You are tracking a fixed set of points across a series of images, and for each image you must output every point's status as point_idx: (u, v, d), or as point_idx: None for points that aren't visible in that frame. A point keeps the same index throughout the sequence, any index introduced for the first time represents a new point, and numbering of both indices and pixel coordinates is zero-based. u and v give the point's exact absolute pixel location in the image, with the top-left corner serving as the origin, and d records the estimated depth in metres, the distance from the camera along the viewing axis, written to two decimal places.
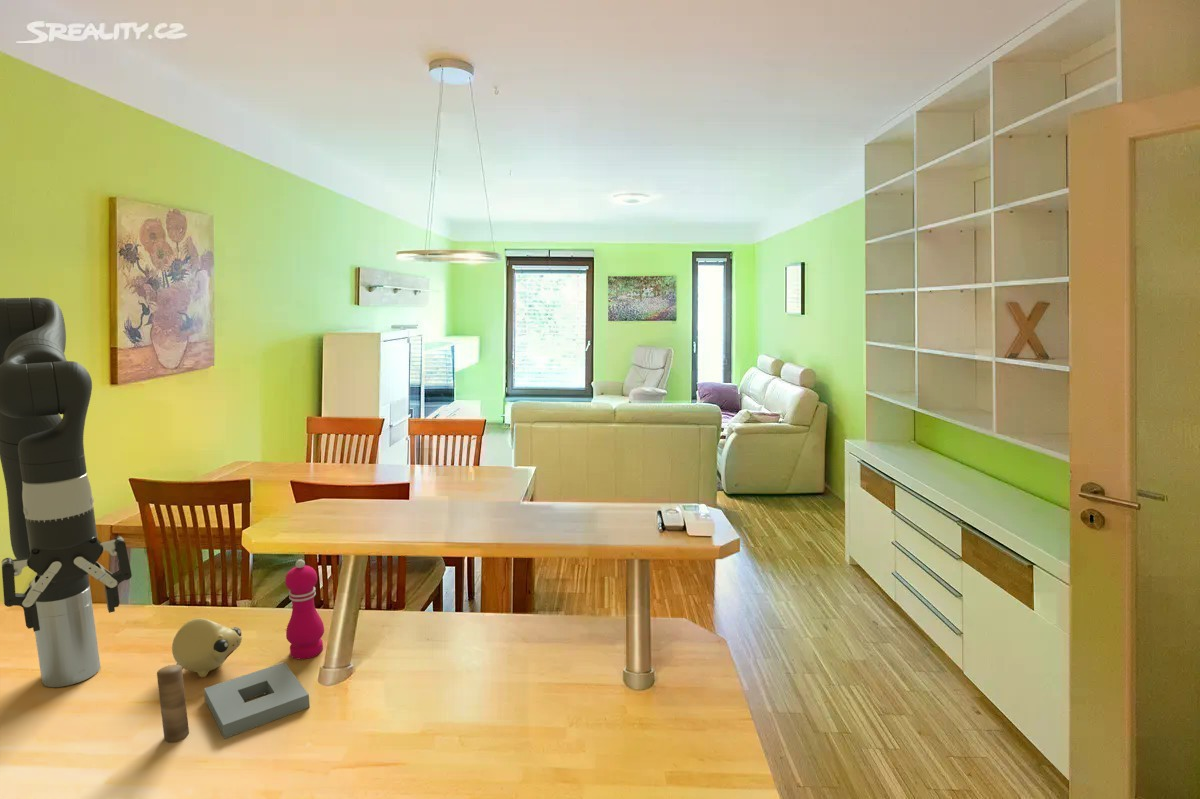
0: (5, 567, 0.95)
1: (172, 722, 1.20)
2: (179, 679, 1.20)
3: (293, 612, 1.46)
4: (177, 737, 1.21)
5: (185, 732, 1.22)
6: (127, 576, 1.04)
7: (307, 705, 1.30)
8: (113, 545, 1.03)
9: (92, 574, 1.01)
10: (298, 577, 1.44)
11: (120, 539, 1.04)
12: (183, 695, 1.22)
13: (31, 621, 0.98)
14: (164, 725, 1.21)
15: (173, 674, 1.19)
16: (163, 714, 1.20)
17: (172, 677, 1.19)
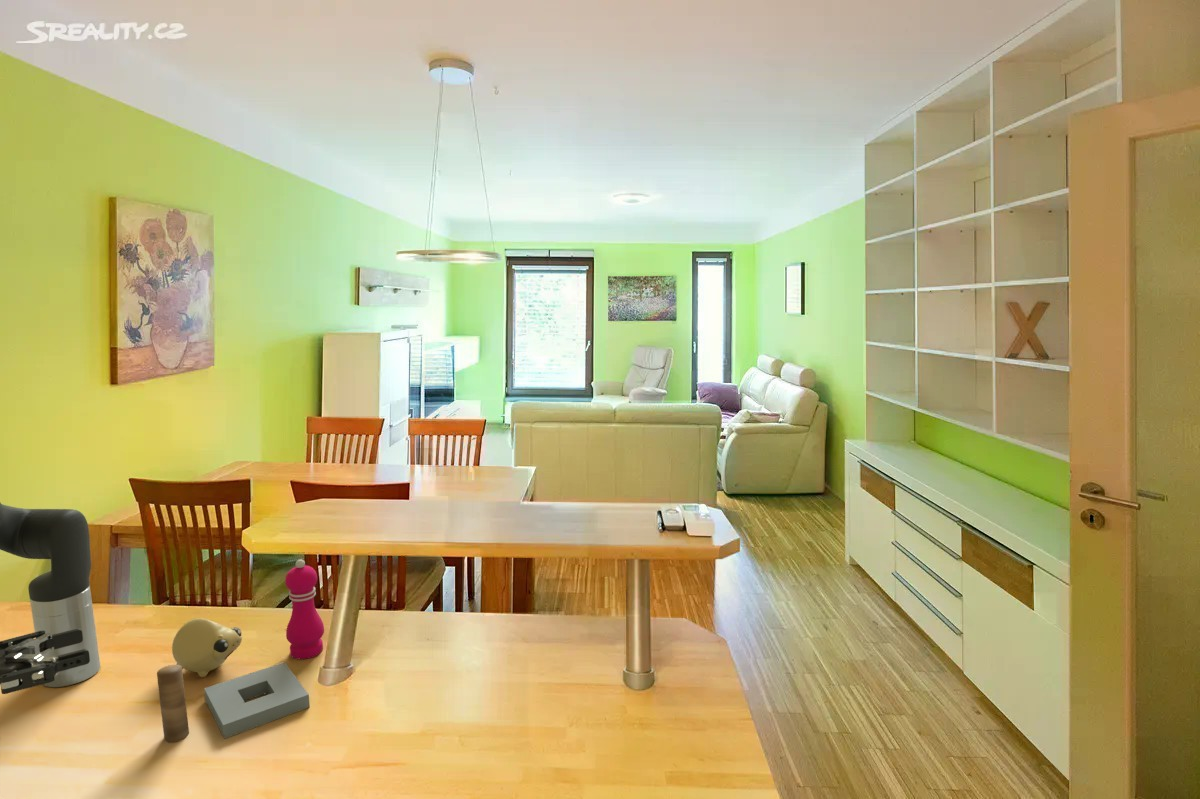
0: None
1: (172, 722, 1.20)
2: (179, 679, 1.20)
3: (293, 612, 1.46)
4: (177, 737, 1.21)
5: (185, 732, 1.22)
6: None
7: (307, 705, 1.30)
8: None
9: None
10: (298, 577, 1.44)
11: (1, 688, 1.01)
12: (183, 695, 1.22)
13: None
14: (164, 725, 1.21)
15: (173, 674, 1.19)
16: (163, 714, 1.20)
17: (172, 677, 1.19)
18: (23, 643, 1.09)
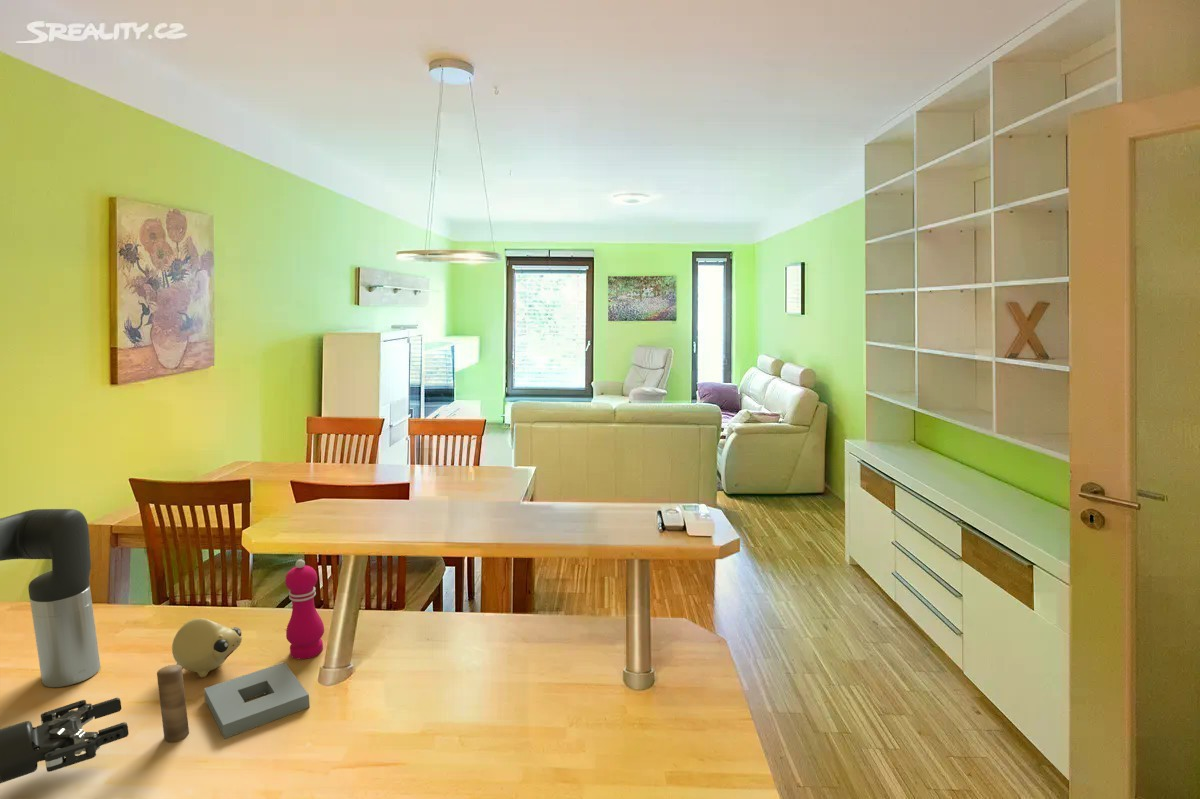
0: None
1: (172, 722, 1.20)
2: (179, 679, 1.20)
3: (293, 612, 1.46)
4: (177, 737, 1.21)
5: (185, 732, 1.22)
6: None
7: (307, 705, 1.30)
8: None
9: None
10: (298, 577, 1.44)
11: (46, 766, 1.06)
12: (183, 695, 1.22)
13: None
14: (164, 725, 1.21)
15: (173, 674, 1.19)
16: (163, 714, 1.20)
17: (172, 677, 1.19)
18: (66, 716, 1.14)
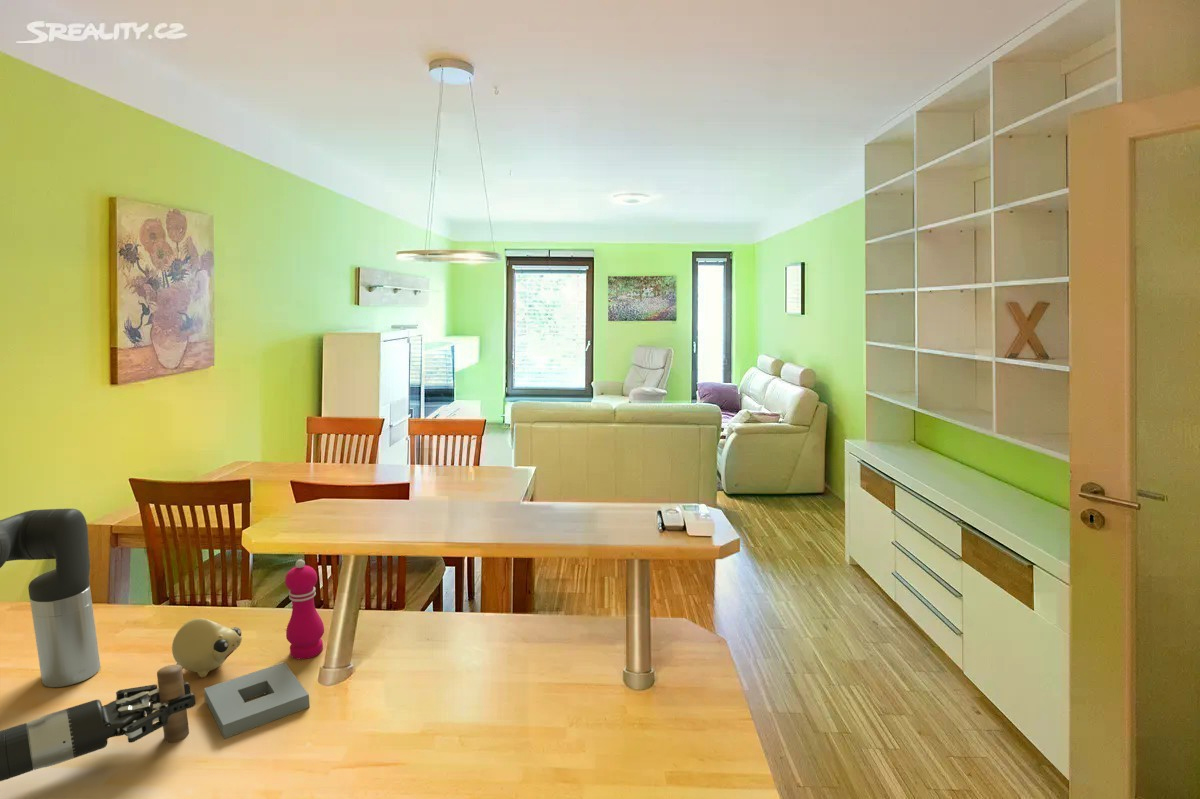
0: None
1: (172, 721, 1.20)
2: (179, 679, 1.20)
3: (293, 612, 1.46)
4: (177, 737, 1.21)
5: (185, 732, 1.22)
6: None
7: (307, 705, 1.30)
8: None
9: None
10: (298, 577, 1.44)
11: (129, 738, 1.12)
12: (183, 695, 1.22)
13: None
14: (164, 725, 1.21)
15: (173, 674, 1.19)
16: None
17: (173, 677, 1.19)
18: (134, 697, 1.19)
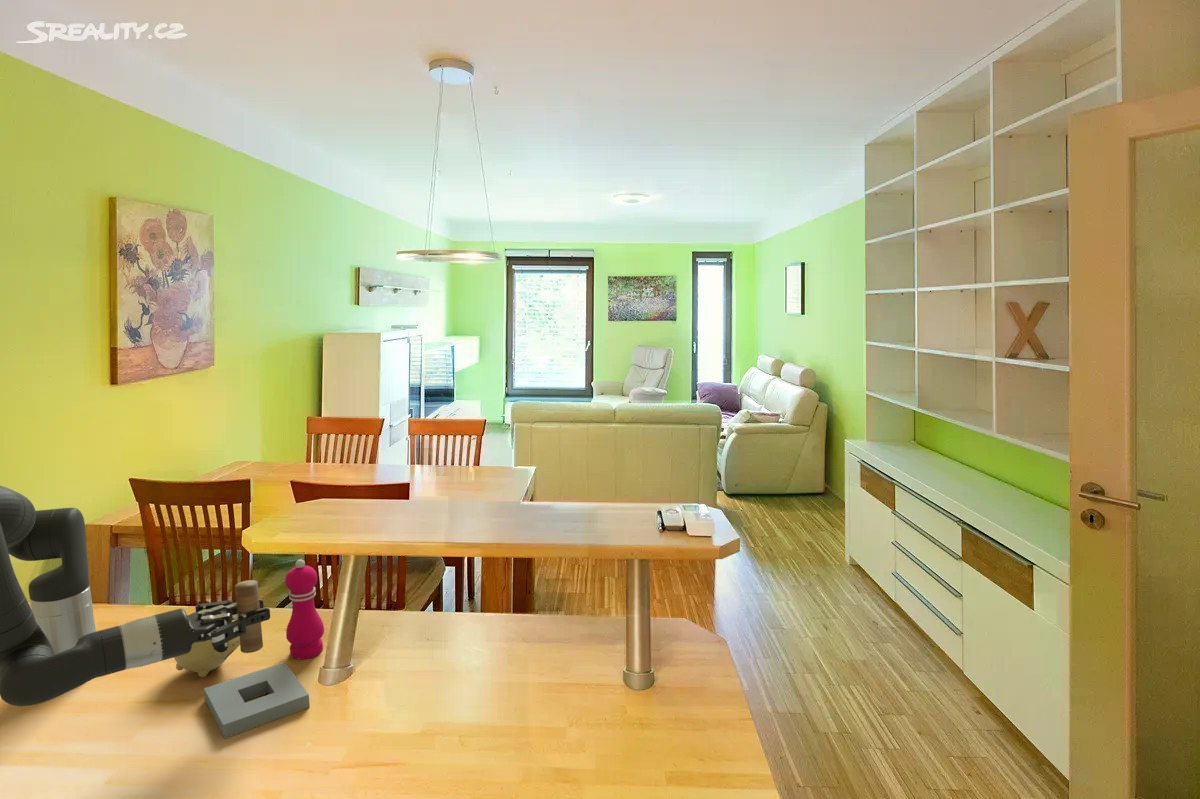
0: None
1: (249, 633, 1.27)
2: (255, 593, 1.27)
3: (293, 612, 1.46)
4: (253, 648, 1.28)
5: (260, 644, 1.29)
6: None
7: (307, 705, 1.30)
8: None
9: None
10: (298, 577, 1.44)
11: (213, 642, 1.19)
12: None
13: None
14: (241, 636, 1.28)
15: (250, 587, 1.26)
16: None
17: (250, 590, 1.26)
18: (214, 609, 1.26)
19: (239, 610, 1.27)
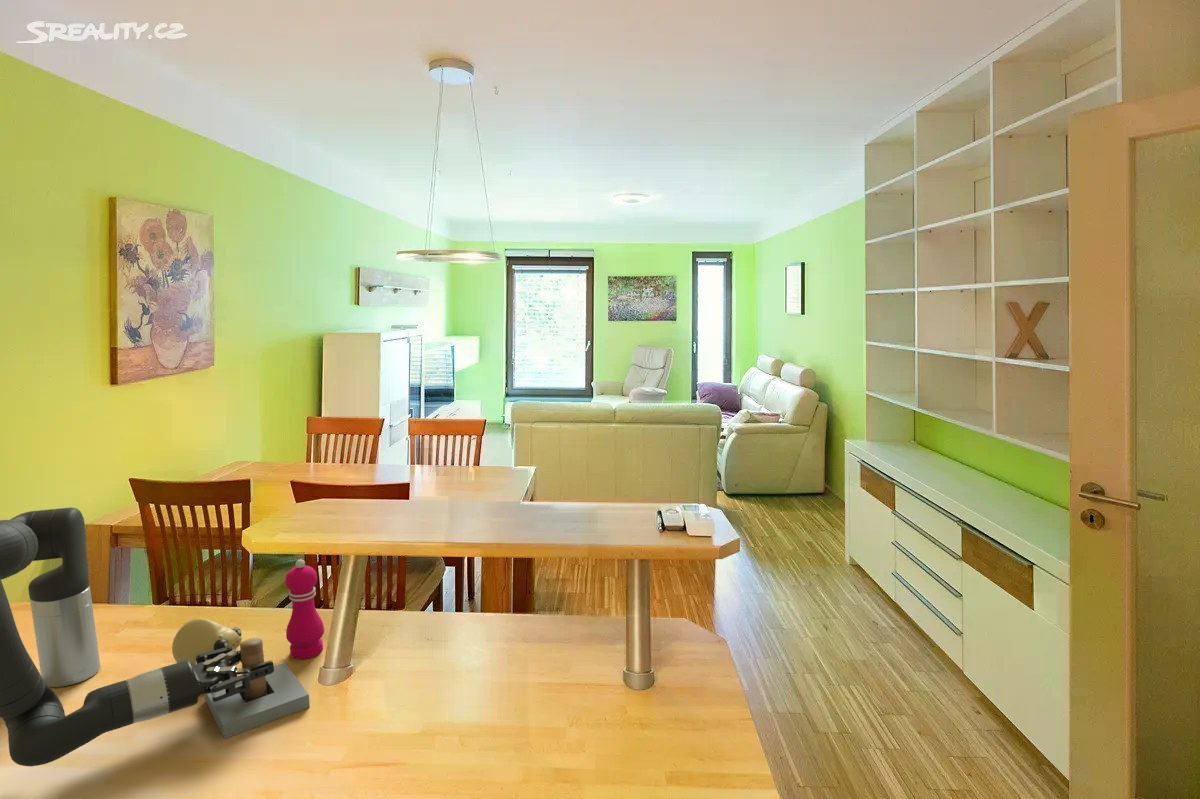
0: None
1: (254, 691, 1.29)
2: (260, 651, 1.29)
3: (293, 612, 1.46)
4: None
5: None
6: None
7: (307, 705, 1.30)
8: None
9: None
10: (298, 577, 1.44)
11: (213, 697, 1.20)
12: None
13: None
14: (246, 694, 1.30)
15: (255, 646, 1.28)
16: None
17: (255, 649, 1.28)
18: (217, 658, 1.28)
19: None
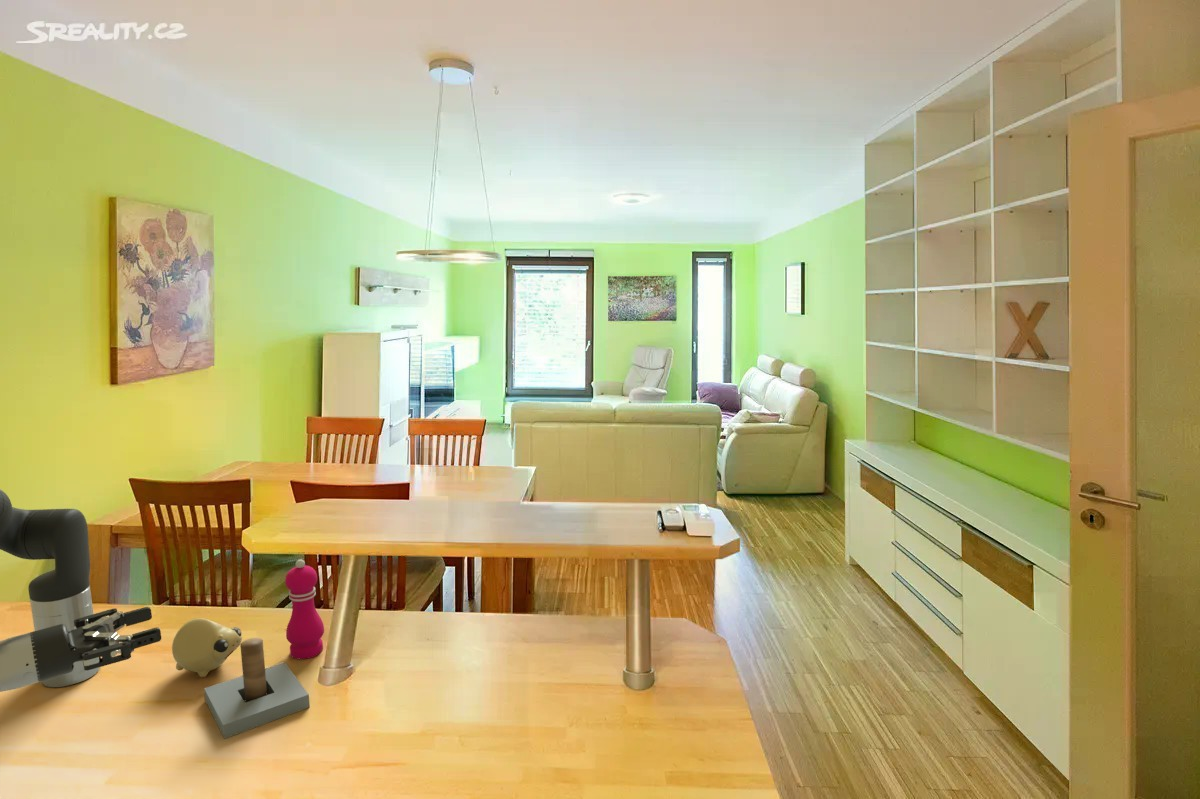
0: None
1: (254, 691, 1.29)
2: (260, 651, 1.29)
3: (293, 612, 1.46)
4: None
5: None
6: None
7: (307, 705, 1.30)
8: None
9: None
10: (298, 577, 1.44)
11: (83, 665, 1.08)
12: (263, 666, 1.31)
13: None
14: (246, 694, 1.30)
15: (255, 646, 1.28)
16: (246, 683, 1.29)
17: (255, 649, 1.28)
18: (99, 621, 1.16)
19: (244, 668, 1.29)
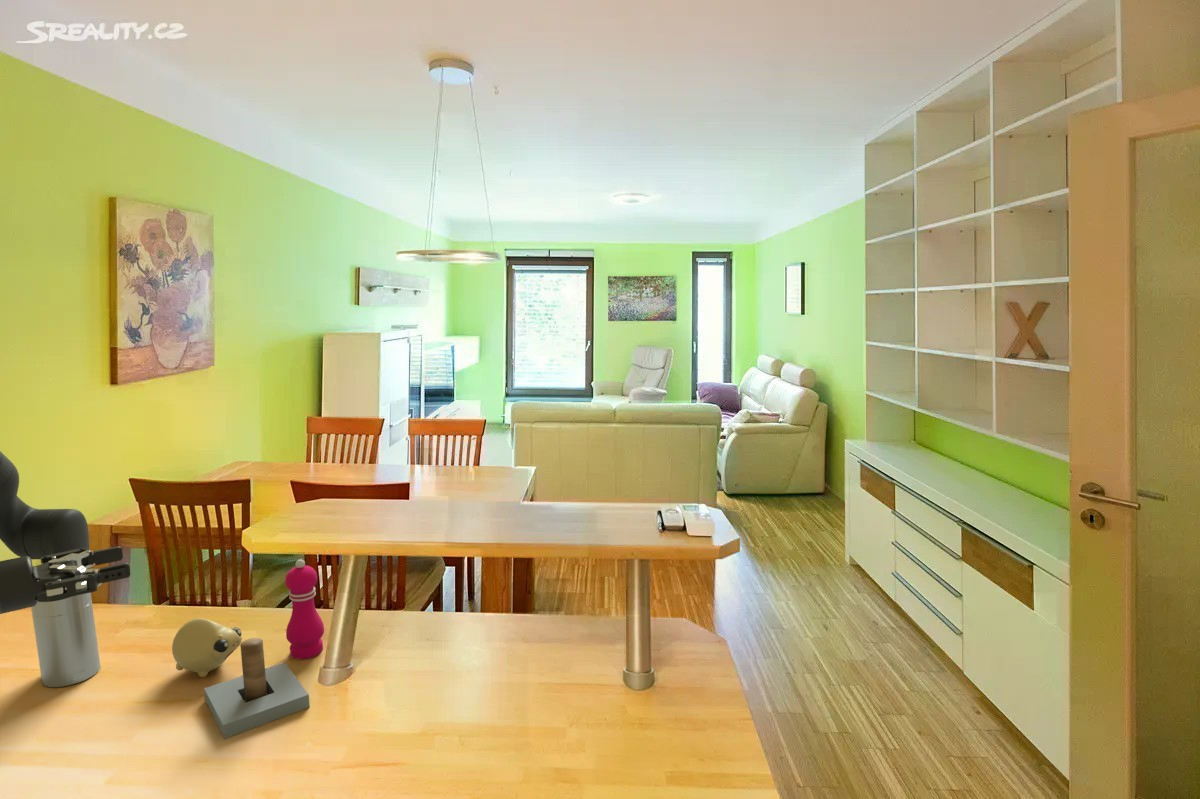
0: None
1: (254, 691, 1.29)
2: (260, 651, 1.29)
3: (293, 612, 1.46)
4: None
5: None
6: None
7: (307, 705, 1.30)
8: None
9: None
10: (298, 577, 1.44)
11: (46, 595, 1.04)
12: (263, 666, 1.30)
13: None
14: (246, 694, 1.30)
15: (255, 646, 1.28)
16: (246, 683, 1.29)
17: (255, 649, 1.28)
18: (66, 557, 1.12)
19: (244, 668, 1.29)
